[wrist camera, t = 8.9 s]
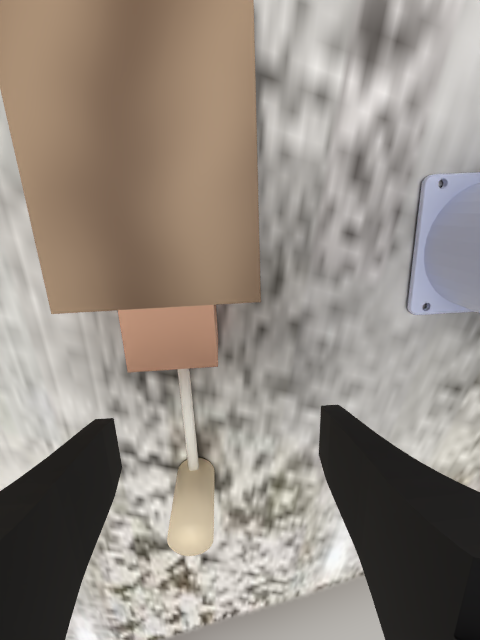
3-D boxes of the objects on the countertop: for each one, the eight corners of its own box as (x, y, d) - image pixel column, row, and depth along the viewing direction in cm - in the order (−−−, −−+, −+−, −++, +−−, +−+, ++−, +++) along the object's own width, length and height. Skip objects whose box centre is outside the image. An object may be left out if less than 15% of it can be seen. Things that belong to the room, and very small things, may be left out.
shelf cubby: (238, 23, 16) (251, -90, 10) (247, 274, 20) (260, 301, 14) (59, 26, 16) (-40, -88, 10) (103, 281, 20) (51, 313, 13)
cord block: (213, 264, 20) (211, 282, 15) (228, 484, 25) (230, 552, 20) (136, 268, 19) (108, 287, 14) (166, 489, 24) (154, 559, 19)
